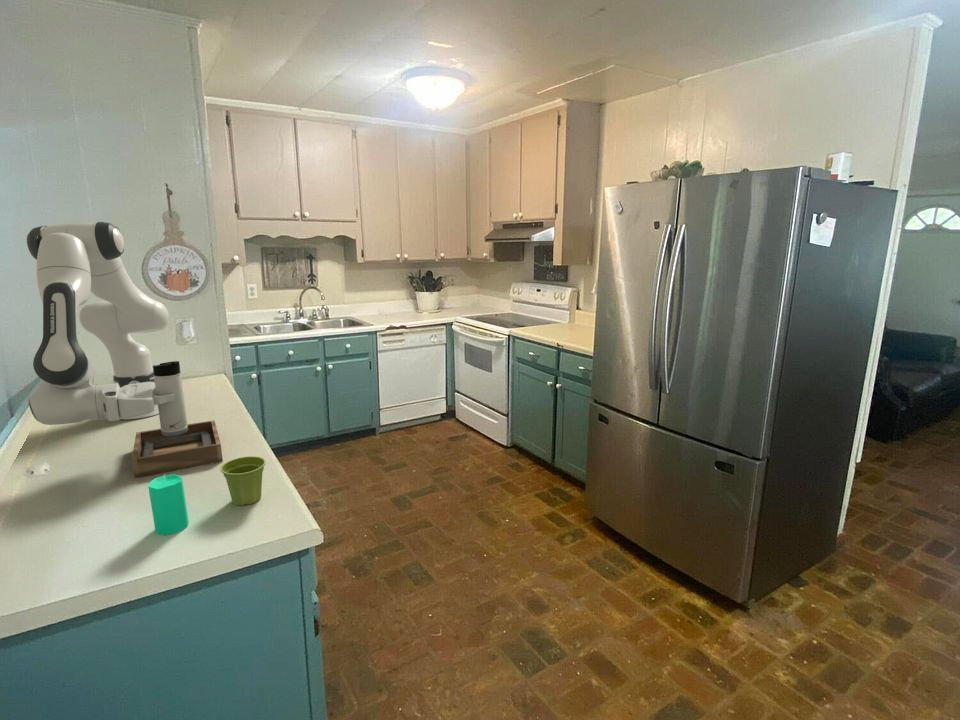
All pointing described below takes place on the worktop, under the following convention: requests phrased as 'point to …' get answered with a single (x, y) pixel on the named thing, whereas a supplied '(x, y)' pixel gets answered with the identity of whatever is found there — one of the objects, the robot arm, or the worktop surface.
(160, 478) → the candle
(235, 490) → the plant pot
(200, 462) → the open box
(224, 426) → the worktop surface
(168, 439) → the plate
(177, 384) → the travel mug
